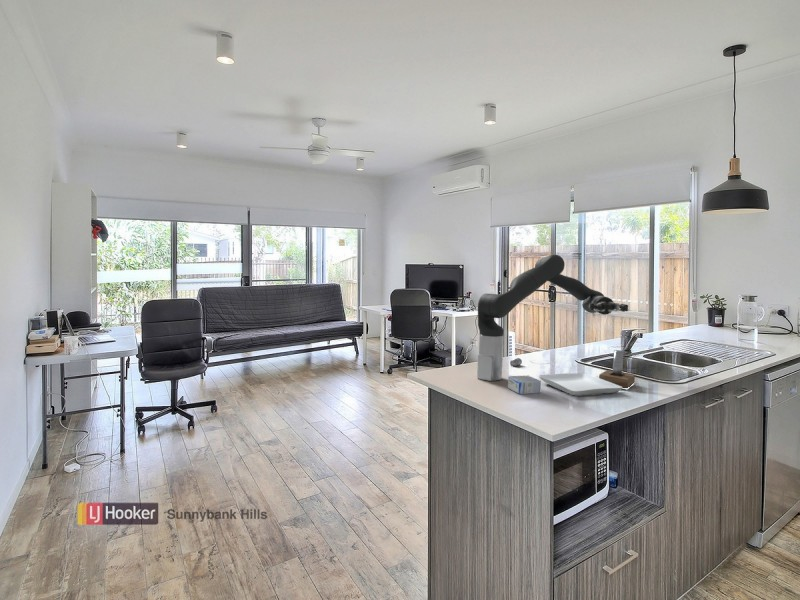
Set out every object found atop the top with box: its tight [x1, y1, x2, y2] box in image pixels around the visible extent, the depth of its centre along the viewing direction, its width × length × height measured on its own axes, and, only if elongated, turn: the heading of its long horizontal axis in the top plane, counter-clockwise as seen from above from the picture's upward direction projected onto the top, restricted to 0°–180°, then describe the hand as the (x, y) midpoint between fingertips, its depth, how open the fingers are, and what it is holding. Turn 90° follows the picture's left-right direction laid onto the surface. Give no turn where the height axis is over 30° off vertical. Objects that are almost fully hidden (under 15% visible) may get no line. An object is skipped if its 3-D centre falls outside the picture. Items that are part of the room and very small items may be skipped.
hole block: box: [598, 369, 636, 388], centre depth 171 cm, size 10×10×4 cm
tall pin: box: [612, 349, 624, 377], centre depth 171 cm, size 3×3×13 cm
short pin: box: [509, 357, 523, 368], centre depth 200 cm, size 3×3×5 cm
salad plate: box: [538, 372, 623, 397], centre depth 165 cm, size 21×21×3 cm
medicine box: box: [507, 374, 542, 395], centre depth 161 cm, size 8×4×9 cm
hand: (612, 308), depth 180 cm, fingers open, 8 cm apart
